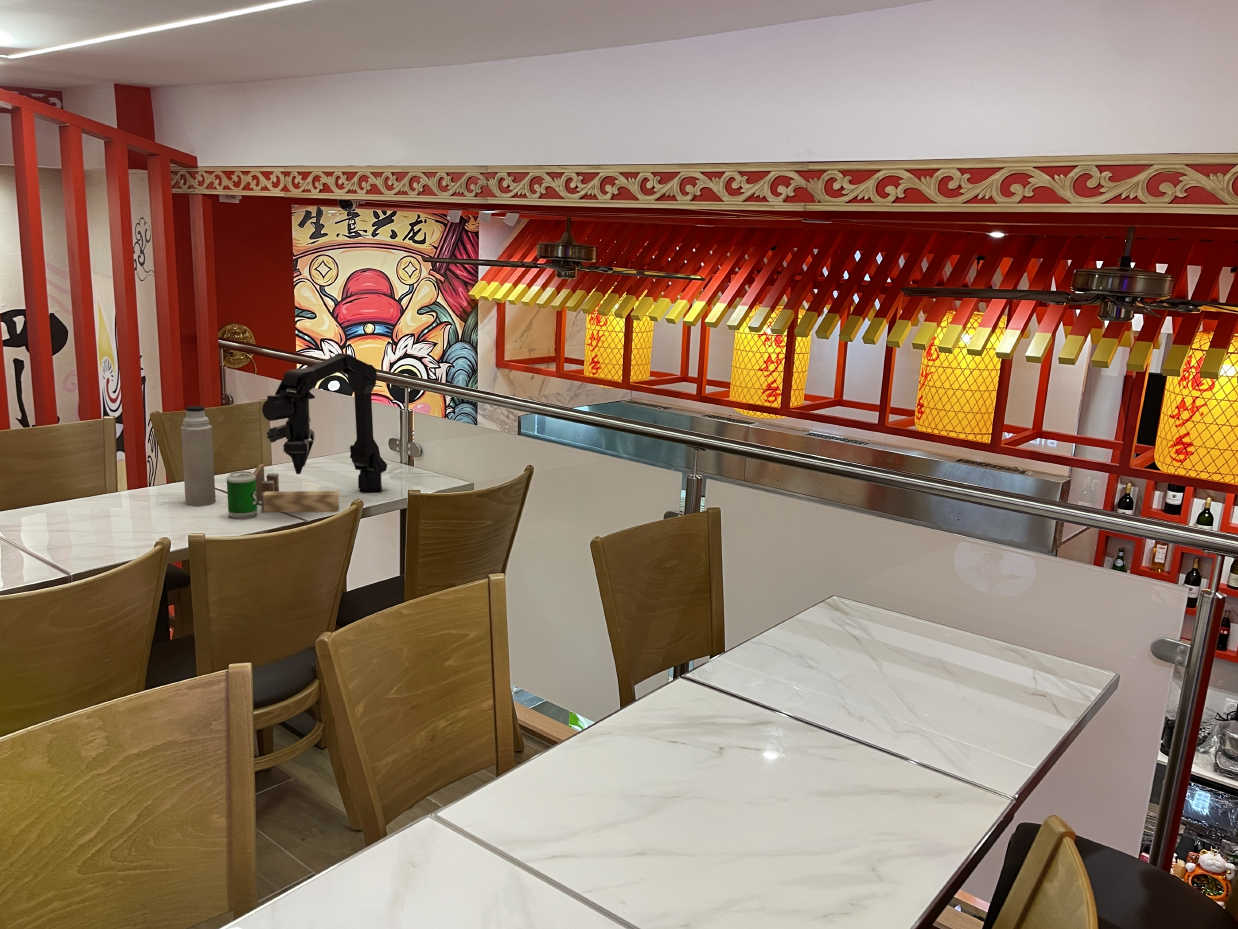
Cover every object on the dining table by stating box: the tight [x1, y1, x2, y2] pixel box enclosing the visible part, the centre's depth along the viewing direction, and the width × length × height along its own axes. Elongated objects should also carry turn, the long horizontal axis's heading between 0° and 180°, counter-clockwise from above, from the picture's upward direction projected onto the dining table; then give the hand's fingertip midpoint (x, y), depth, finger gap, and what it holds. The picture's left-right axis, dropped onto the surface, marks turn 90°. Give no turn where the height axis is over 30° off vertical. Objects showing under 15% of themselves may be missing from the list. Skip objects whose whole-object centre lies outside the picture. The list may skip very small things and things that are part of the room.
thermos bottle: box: [180, 405, 217, 507], centre depth 270 cm, size 8×8×28 cm
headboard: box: [252, 463, 280, 506], centre depth 278 cm, size 6×16×9 cm, turn 11°
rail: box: [260, 490, 340, 513], centre depth 270 cm, size 21×4×5 cm, turn 101°
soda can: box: [226, 470, 258, 519], centre depth 261 cm, size 8×8×12 cm
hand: (300, 470), depth 268 cm, fingers open, 9 cm apart
